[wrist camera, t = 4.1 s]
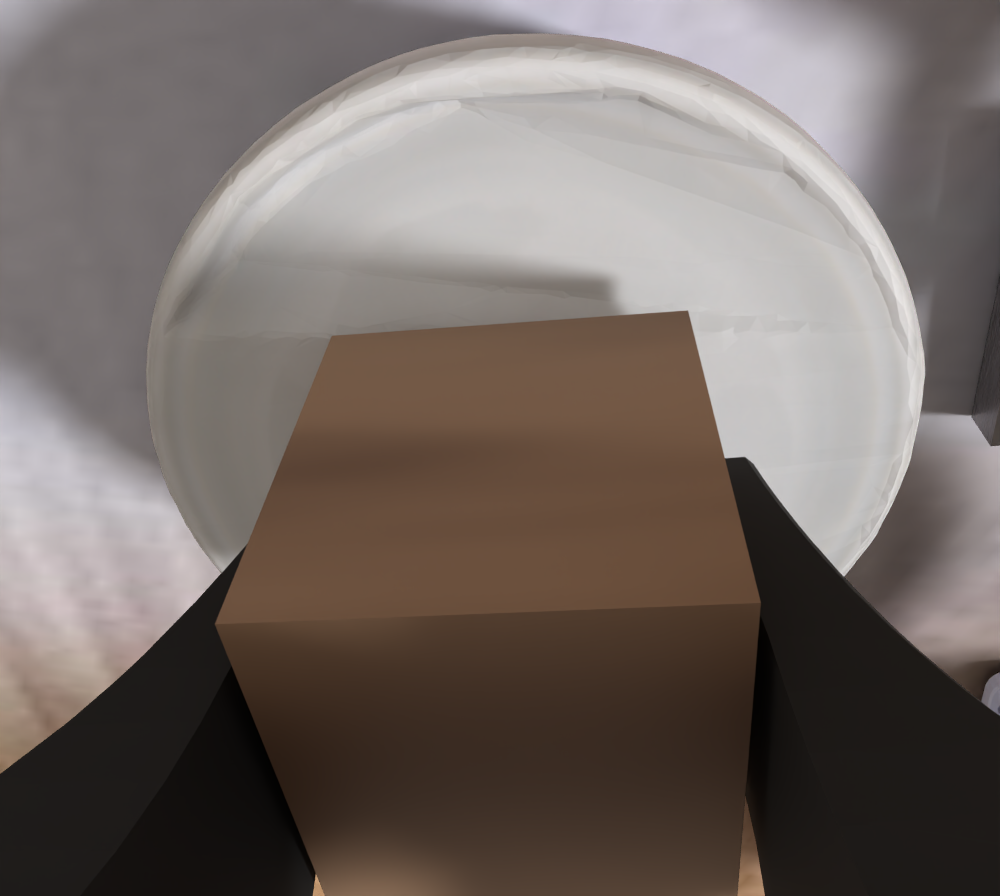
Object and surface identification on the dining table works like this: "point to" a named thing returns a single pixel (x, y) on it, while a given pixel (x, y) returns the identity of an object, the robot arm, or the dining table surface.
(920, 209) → the dining table surface
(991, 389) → the balance
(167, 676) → the robot arm
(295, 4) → the dining table surface
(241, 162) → the ramekin
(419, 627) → the block
